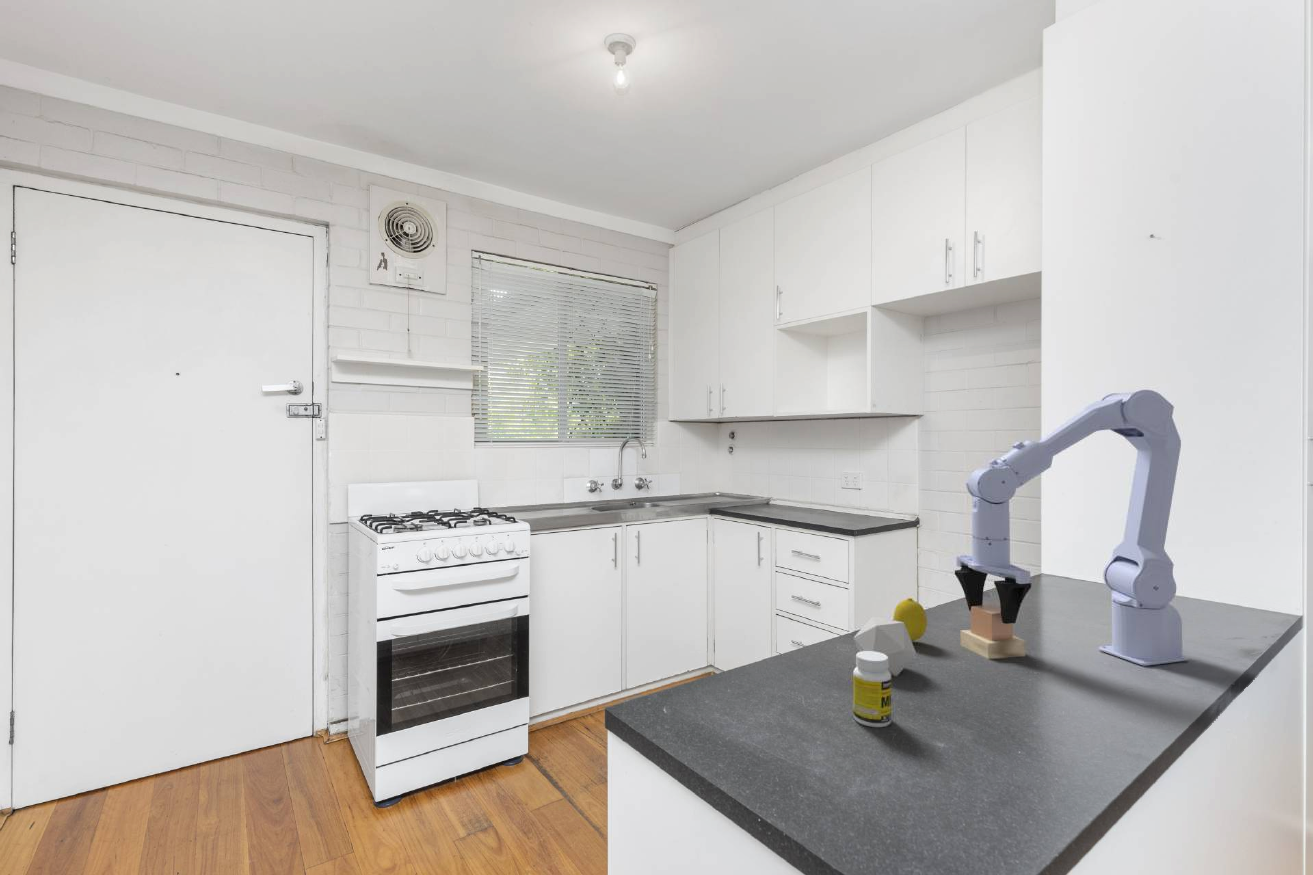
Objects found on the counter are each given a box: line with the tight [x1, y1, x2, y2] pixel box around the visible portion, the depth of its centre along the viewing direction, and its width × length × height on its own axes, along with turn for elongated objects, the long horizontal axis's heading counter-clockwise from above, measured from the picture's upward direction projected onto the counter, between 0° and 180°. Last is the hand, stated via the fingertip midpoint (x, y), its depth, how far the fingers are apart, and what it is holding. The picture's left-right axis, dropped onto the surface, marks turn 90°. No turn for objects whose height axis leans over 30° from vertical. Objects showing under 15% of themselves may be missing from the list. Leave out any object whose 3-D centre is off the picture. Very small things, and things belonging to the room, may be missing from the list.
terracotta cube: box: [970, 603, 1014, 640], centre depth 107 cm, size 4×4×4 cm
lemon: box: [893, 597, 928, 643], centre depth 112 cm, size 6×6×8 cm
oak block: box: [959, 629, 1026, 660], centre depth 107 cm, size 7×7×3 cm
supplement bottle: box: [852, 651, 892, 728], centre depth 81 cm, size 5×5×8 cm
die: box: [853, 616, 917, 677], centre depth 99 cm, size 8×9×10 cm
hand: (991, 616), depth 107 cm, fingers open, 7 cm apart
